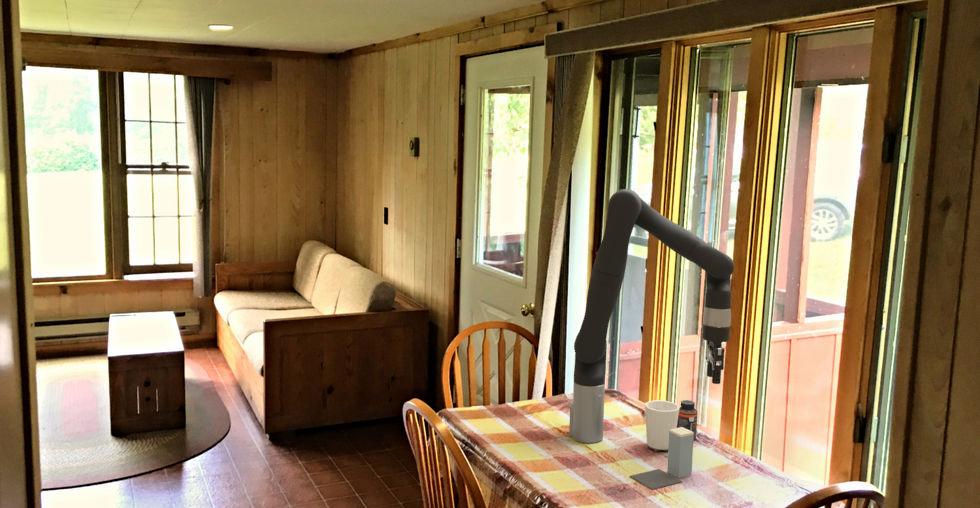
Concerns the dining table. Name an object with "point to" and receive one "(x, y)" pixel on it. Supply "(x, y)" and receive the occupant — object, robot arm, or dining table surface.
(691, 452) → the block
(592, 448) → the dining table surface
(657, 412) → the cup
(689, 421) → the supplement bottle
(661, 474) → the mat
